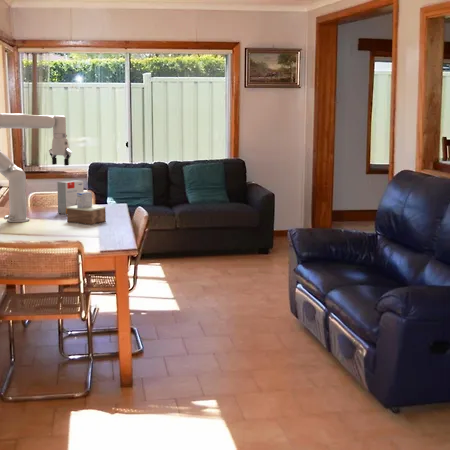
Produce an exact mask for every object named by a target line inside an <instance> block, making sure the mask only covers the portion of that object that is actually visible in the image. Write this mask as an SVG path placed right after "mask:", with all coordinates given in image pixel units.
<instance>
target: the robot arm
mask: <svg viewBox="0 0 450 450" xmlns="http://www.w3.org/2000/svg"><path fill="white" fill-rule="evenodd" d="M66 119H67V118H66V116H65V115H60V114H59V115H57V114H56V115H49V114H42V115H41V114H40V115H38V114H28V113H1V112H0V129H52V134H53V135H52V136H53V137H52V142H51V148H50V149H49V150H48V153H49V156H50V158H51V165H53V166H54V165H57V161H58V160H57V159H58V158H57V156H63V157H64V159H63V163H64V164H63V165H64V166H66V167H67V166H69V164H70V163H69V162H70V161H69V160H70V158H71V156H72V154H73V153H72V151H71V150H70V149H69V148H70V144H69V141H68V138H67V137H68V134H67V123H66V122H67V121H66ZM0 174H1V175H2V176H3V177H4V178H6V179H7V181H8V201H9V213H8V215H4V216H3V219H4V220H7V222H9V223H24V222H29V221H30V218H29V217H27V197H26V196H27V195H26V193H27V192H26V183H27V179H26V178H27V176H26V175H27V174H26V172H25V170H23V169H22V168H21V167H19V166H17V165H16V164H15V163H14V162H13V161H12V160H11V158H10V157H9V156H8V155H6V154H5V153H4V152H3V151H2V150H1V149H0Z"/></svg>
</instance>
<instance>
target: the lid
mask: <svg viewBox="0 0 450 450" xmlns="http://www.w3.org/2000/svg"><path fill="white" fill-rule="evenodd" d="M104 208H105V209H106V206H103V205H102V206H100V205H93V204H92V207H86V208H78V207H77V205H75V206H70V207H66V209H75V210H84V211H94V210H99V209H104Z"/></svg>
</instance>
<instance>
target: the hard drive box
mask: <svg viewBox="0 0 450 450" xmlns="http://www.w3.org/2000/svg"><path fill="white" fill-rule="evenodd" d="M56 183H57V213H58V214H64V215H67V209H66V207H70V206H75V205H77V193H81V192H85V191H84V180H78V179H73V180H72V179H71V180H64V181H63V180H62V181H57V182H56Z"/></svg>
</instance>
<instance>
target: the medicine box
mask: <svg viewBox="0 0 450 450" xmlns="http://www.w3.org/2000/svg"><path fill="white" fill-rule="evenodd" d="M92 205H93V193H92V192H91V191H84V192H81V193H77V207H78V208H86V207H92Z"/></svg>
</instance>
